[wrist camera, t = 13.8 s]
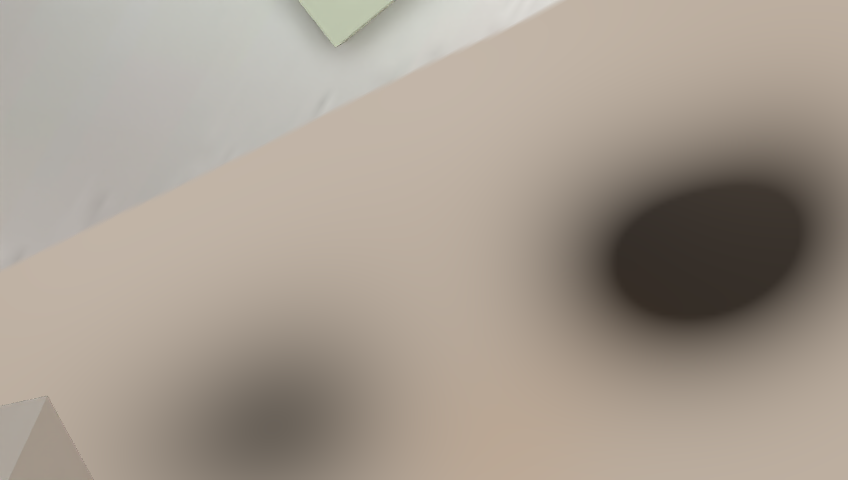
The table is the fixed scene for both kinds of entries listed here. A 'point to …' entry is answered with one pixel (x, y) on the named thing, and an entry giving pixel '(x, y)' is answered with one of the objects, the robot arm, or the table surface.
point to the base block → (343, 16)
